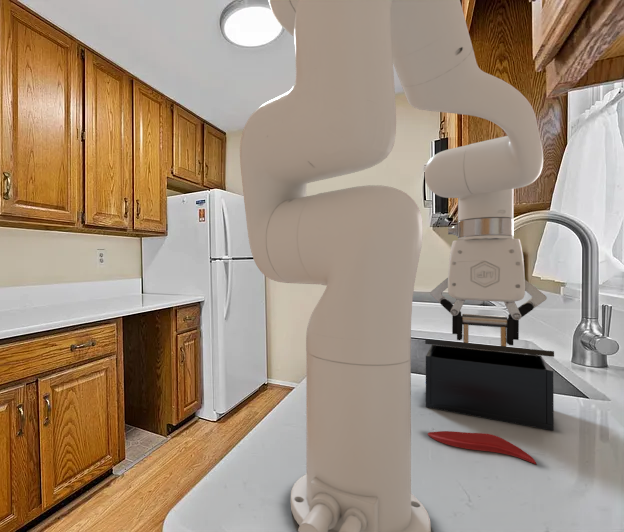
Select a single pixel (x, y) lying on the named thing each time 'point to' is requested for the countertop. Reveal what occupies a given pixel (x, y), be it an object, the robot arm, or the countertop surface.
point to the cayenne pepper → (480, 443)
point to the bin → (491, 385)
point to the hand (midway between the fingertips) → (483, 340)
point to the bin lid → (491, 322)
